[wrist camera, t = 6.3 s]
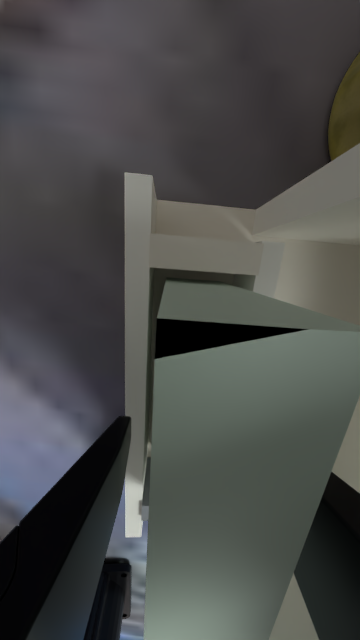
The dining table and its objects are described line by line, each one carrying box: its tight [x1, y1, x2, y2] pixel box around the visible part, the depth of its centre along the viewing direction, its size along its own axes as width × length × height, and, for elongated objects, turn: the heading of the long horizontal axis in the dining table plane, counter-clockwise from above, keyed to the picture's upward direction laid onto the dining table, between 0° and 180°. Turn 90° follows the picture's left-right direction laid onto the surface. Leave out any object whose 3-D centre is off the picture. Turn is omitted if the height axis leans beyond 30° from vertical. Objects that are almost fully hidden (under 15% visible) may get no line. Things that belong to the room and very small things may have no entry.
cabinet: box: [125, 143, 360, 640], centre depth 8 cm, size 16×13×7 cm
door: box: [144, 277, 360, 640], centre depth 7 cm, size 10×2×7 cm, turn 176°
